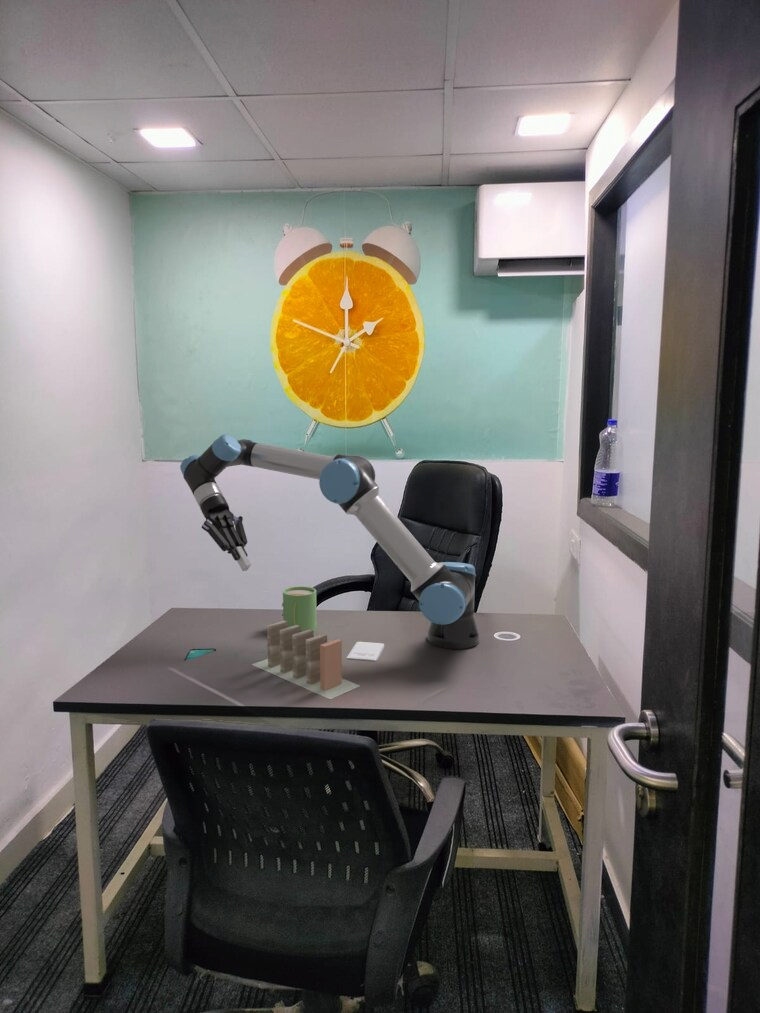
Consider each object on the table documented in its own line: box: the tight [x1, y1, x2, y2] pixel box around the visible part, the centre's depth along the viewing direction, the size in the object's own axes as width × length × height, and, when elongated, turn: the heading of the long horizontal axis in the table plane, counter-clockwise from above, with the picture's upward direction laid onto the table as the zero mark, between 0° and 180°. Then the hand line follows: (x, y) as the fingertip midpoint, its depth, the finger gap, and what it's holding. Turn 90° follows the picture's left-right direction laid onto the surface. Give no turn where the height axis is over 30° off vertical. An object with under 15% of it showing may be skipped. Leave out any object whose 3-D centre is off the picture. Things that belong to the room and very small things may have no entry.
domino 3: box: [292, 629, 315, 679], centre depth 161 cm, size 2×6×11 cm, turn 138°
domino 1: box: [266, 620, 288, 668], centre depth 168 cm, size 2×6×11 cm, turn 138°
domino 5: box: [320, 638, 343, 691], centre depth 155 cm, size 2×6×11 cm, turn 138°
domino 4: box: [306, 633, 328, 685], centre depth 158 cm, size 2×6×11 cm, turn 138°
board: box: [251, 658, 360, 700], centre depth 162 cm, size 30×10×1 cm, turn 48°
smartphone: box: [184, 648, 217, 661], centre depth 173 cm, size 7×1×15 cm
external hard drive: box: [345, 641, 385, 662], centre depth 178 cm, size 2×8×12 cm
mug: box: [281, 585, 318, 632], centre depth 196 cm, size 13×10×12 cm
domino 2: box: [280, 625, 301, 673], centre depth 165 cm, size 2×6×11 cm, turn 138°
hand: (246, 568), depth 179 cm, fingers closed
